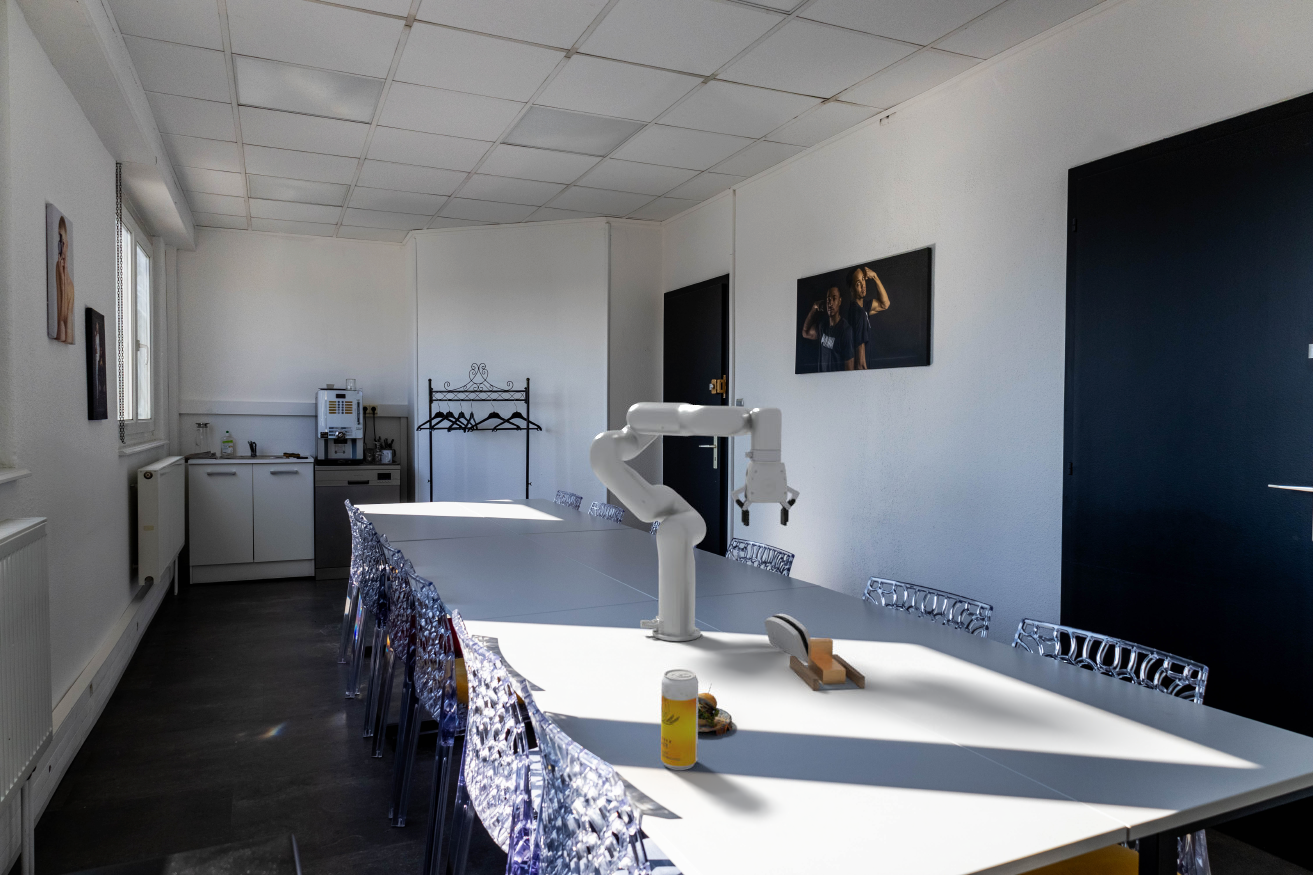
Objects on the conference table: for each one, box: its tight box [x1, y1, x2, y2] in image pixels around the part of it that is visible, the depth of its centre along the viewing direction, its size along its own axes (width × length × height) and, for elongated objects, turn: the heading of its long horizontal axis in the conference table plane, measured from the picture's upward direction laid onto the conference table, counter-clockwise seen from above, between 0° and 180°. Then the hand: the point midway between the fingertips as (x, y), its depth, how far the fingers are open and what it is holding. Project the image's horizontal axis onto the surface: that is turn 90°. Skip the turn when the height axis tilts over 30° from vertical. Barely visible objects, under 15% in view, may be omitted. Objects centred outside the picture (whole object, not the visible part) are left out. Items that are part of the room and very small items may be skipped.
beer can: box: [660, 668, 699, 771], centre depth 134 cm, size 6×6×15 cm
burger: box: [698, 682, 733, 736], centre depth 151 cm, size 12×12×8 cm
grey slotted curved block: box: [764, 613, 812, 663], centre depth 198 cm, size 17×5×10 cm, turn 22°
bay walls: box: [789, 653, 866, 692], centre depth 179 cm, size 11×16×2 cm
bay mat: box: [804, 664, 860, 691], centre depth 179 cm, size 9×16×1 cm, turn 9°
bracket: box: [807, 637, 846, 684], centre depth 178 cm, size 10×5×7 cm, turn 8°
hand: (764, 525), depth 202 cm, fingers open, 9 cm apart
